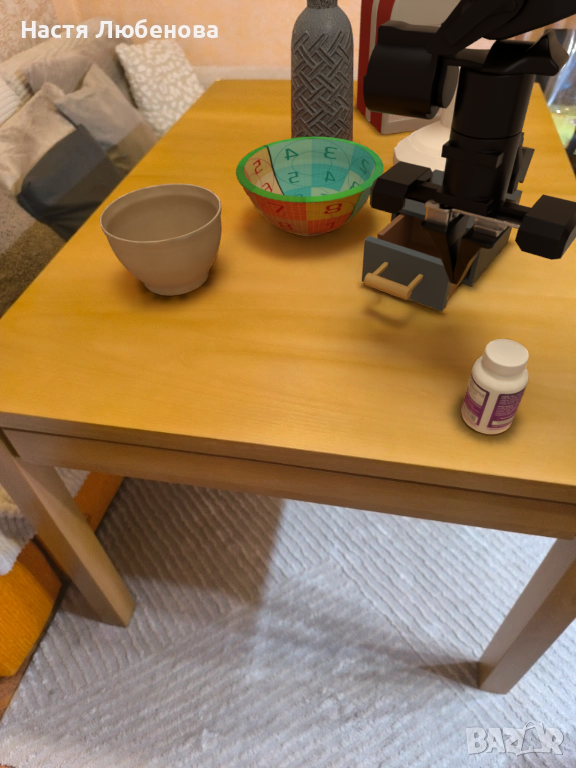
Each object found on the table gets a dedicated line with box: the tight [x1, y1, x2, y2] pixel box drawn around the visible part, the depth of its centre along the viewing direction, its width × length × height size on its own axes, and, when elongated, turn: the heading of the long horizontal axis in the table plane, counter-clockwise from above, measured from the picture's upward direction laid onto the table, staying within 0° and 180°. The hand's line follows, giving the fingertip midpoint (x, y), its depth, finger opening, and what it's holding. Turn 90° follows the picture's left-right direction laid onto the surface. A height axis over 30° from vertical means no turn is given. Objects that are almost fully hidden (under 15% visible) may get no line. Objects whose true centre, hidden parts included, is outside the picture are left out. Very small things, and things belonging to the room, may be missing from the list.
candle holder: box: [392, 67, 460, 172], centre depth 89 cm, size 20×20×19 cm
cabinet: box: [390, 169, 524, 288], centre depth 77 cm, size 13×13×8 cm
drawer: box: [361, 213, 472, 312], centre depth 71 cm, size 17×12×7 cm
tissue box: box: [355, 0, 461, 135], centre depth 109 cm, size 17×18×27 cm
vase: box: [290, 0, 355, 142], centre depth 96 cm, size 12×12×28 cm
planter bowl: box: [99, 183, 223, 296], centre depth 75 cm, size 16×16×11 cm
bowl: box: [235, 137, 385, 237], centre depth 84 cm, size 22×22×10 cm
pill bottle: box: [460, 338, 530, 435], centre depth 54 cm, size 5×5×10 cm
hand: (455, 282), depth 55 cm, fingers closed
